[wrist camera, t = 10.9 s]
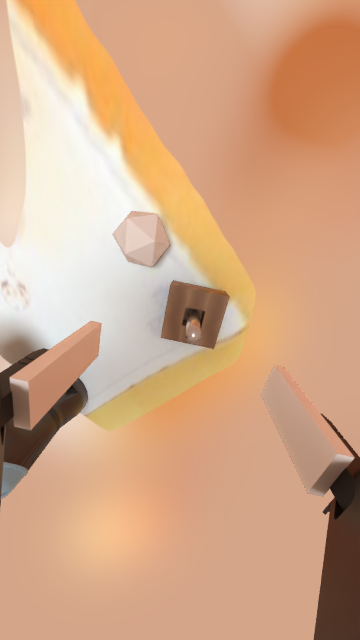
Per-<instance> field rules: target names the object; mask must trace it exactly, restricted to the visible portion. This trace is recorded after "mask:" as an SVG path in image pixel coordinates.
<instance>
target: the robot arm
mask: <svg viewBox="0 0 360 640" xmlns="http://www.w3.org/2000/svg"><path fill="white" fill-rule="evenodd" d="M100 332H101V323H98V322H94V321H90V322H89V323H87V324H86V325H84V326H83V327H82V328H80V329H79V330H77V331H76V332H74V333H73V334H71V335H70V336H69V337H67V338H66V339H64V340H63V341H61V342H60V343H58V344H57V345H56V346H54V347H53V348H51V349H50V350H48V349H44V348H43V349H41V350H38V351H35V352H32V353H31V354H29V355H28V356H26V357H25V358H23V359H21V360H20V361H18V363H15V364H13V365H12V366H10V367H9V368H7V369H6V370H4V371H3V372H1V373H0V505H1V499H3V498H4V497H6V496H7V495H8V494H9V493H10V492H11V491H12V490H13V489H14V488H15V487H16V485H17V484H18V483H19V482H20V481H21V479H22V478H23V477H24V476H25V475H26V474H27V473H28V470H29V469H30V468H31V466H32V465H33V464H34V462H35V461H36V459H37V458H38V457H39V455H40V454H41V453H42V451H43V450H44V449H45V447H46V446H47V445H48V443H49V442H50V441H51V439H52V437H53V436H54V435H55V434H56V432H57V431H58V430H59V428H60V427H62V426H63V425H65V424H66V423H67V422H68V421H70V420H71V419H72V418H74V417H75V416H76V415H78V414H79V413H80V412H81V410H82V409H83V407H84V406H85V404H86V402H87V391H86V389H85V387H84V385H83V383H82V382H81V381H80V380H79V379H78V377H79V376H80V375H81V374H82V373H83V372H84V371H85V370H86V368H87V367H88V366H89V365H90V364H91V363H92V362H93V361H94V360H95V358H96V357H97V356H98V353H99V343H100ZM261 396H262V398H263V400H264V402H265V405H266V406H267V409H268V411H269V413H270V415H271V417H272V419H273V421H274V424H275V426H276V428H277V430H278V432H279V434H280V436H281V438H282V440H283V443H284V445H285V447H286V449H287V451H288V453H289V455H290V457H291V459H292V462H293V464H294V466H295V468H296V470H297V472H298V474H299V476H300V478H301V481H302V483H303V485H304V487H305V489H306V491H307V493H309V494H314V495H318V496H324V495H325V493H326V492H327V491H328V490H329V489H331V491H332V493H333V495H334V496H335V497H334V499H333V500H332V501H331V502H330V503H329V505H328V506H327V507H326V508H325V509H324V511H323V513H324V514H327V512H330V514H329V523H328V530H327V538H326V546H325V555H324V562H323V570H322V578H321V586H320V594H319V602H318V610H317V618H316V626H315V634H314V640H360V457H359V456H358V455H357V453H356V452H355V451H354V450H353V448H352V447H351V446H350V445H349V444H348V442H347V441H346V440H345V439H343V436H342V435H341V434H340V432H338V430H337V429H336V427H335V426H334V425H333V424H332V423H331V421H329V420H328V419H327V418H326V417H325V416H324V415H323V414H321V413H319V411H318V410H317V409H316V407H315V406H314V405H313V404H312V402H311V401H310V400H309V398H308V397H307V396H306V395H305V393H304V392H303V391H302V390H301V388H300V387H299V386H298V384H297V383H296V382H295V381H294V379H293V378H292V377H291V375H290V374H289V373H288V372H287V370H286V369H285V368H284V367H280V366H276V365H274V367H273V369H272V371H271V373H270V375H269V377H268V379H267V381H266V383H265V385H264V388H263V390H262V392H261Z"/></svg>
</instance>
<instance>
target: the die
mask: <svg viewBox="0 0 360 640" xmlns="http://www.w3.org/2000/svg"><path fill="white" fill-rule="evenodd" d="M112 235H113V236H114V238H115V240H116V241H117V243H118V245H119V247H120V248H121V250H122V252H123V254H124V255H125V257H126V259H127V261H128V262H132V263H136V264H141V265H145V266H149V267H152V266H153V265H154V264H155V263H156V261H157V260H158V259H159V258H160V256H161V255H162V254H163V253H164V251H165V250H166V249H167V248H168V246H169V245H170V243H169V241H168V238H167V236H166V233H165V231H164V228H163V226H162V223H161V221H160V218H159V216H158V214H154V213H145V212H136V211H131V212H130V214H129V215H128V216H127V217H126V218H125V220H124V221H123V222H122V223H121V224H120V226H119V227H118V228H117V229H116V230H115V232H114V233H113V234H112Z"/></svg>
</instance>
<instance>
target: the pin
mask: <svg viewBox="0 0 360 640" xmlns="http://www.w3.org/2000/svg"><path fill="white" fill-rule="evenodd" d="M185 338H186V341H187V342H188V343H190V344H197V343H199V342H200V340H201V329H200V319H199V311H198V310H197V309H192V308H190V309H189V310H188V312H187V324H186V336H185Z"/></svg>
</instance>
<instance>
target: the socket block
mask: <svg viewBox="0 0 360 640" xmlns="http://www.w3.org/2000/svg"><path fill="white" fill-rule="evenodd" d="M228 300H229V296H228V295H227V293H226V292H225V291H220V290H216V289H211V288H206V287H202V286H197V285H192V284H188V283H183V282H178V281H174V280H173V282H172V283H171V286H170V291H169V297H168V302H167V307H166V313H165V318H164V324H163V329H162V334H161V338H165V339H169V340H174V341H179V342H183V343H188V342H187V341H186V338H185V336H186V324H187V312H188V310H189V309H190V308H192V309H197V310H198V311H199V319H200V329H201V340H200V342H199V343H197V344H193V345H198V346H202V347H207V348H212V349H214V347H215V344H216V340H217V337H218V334H219V330H220V327H221V324H222V320H223V317H224V314H225V310H226V307H227V303H228ZM188 344H190V343H188Z"/></svg>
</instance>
